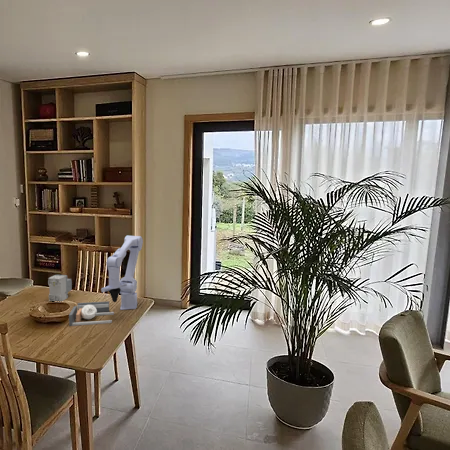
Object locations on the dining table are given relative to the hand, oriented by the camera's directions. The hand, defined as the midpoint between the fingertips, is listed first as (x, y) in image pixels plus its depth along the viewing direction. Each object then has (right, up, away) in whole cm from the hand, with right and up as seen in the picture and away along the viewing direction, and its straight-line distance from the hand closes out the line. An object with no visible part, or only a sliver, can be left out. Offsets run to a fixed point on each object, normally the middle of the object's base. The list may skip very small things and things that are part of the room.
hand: (114, 301), depth 177 cm
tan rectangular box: (-18, -9, -4) cm, 20 cm away
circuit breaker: (-44, -5, +27) cm, 52 cm away
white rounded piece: (-14, -9, -1) cm, 17 cm away
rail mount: (-12, -9, 0) cm, 15 cm away
